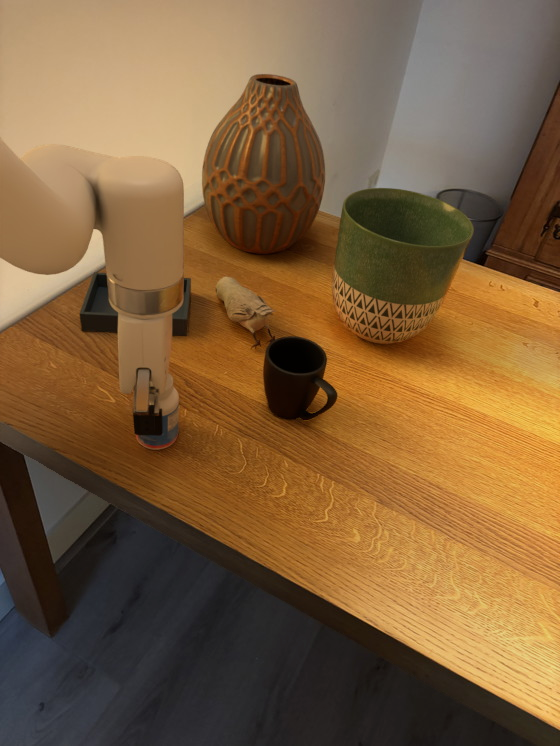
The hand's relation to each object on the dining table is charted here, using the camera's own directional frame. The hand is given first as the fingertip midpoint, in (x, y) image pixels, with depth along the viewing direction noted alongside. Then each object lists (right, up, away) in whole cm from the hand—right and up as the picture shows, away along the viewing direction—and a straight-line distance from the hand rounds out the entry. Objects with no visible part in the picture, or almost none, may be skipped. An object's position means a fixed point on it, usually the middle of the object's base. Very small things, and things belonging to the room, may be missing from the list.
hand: (152, 409), depth 67 cm
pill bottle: (0, -4, +4) cm, 5 cm away
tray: (-8, +15, +24) cm, 29 cm away
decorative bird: (+9, +13, +25) cm, 29 cm away
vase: (+11, +33, +48) cm, 59 cm away
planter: (+32, +12, +28) cm, 44 cm away
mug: (+18, -2, +10) cm, 20 cm away
